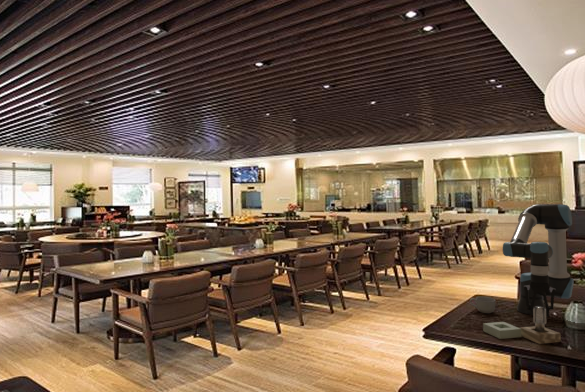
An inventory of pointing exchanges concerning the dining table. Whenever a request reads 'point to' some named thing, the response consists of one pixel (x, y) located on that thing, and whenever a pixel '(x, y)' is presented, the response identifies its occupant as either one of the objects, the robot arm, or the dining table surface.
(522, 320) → the dining table surface
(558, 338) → the block
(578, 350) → the dining table surface
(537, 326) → the lock pin
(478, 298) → the teacup
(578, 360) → the dining table surface
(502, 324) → the socket block
